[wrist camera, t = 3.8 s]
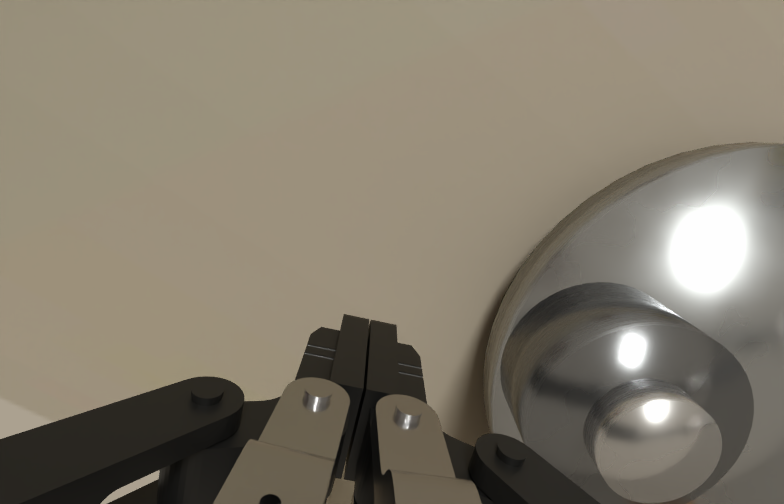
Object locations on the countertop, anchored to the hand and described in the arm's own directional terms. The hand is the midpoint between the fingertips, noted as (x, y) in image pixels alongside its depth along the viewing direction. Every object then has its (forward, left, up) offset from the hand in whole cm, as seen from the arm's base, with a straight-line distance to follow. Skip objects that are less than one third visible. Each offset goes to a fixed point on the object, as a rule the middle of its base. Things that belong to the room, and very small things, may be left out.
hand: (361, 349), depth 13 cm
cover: (-8, 0, -2) cm, 8 cm away
